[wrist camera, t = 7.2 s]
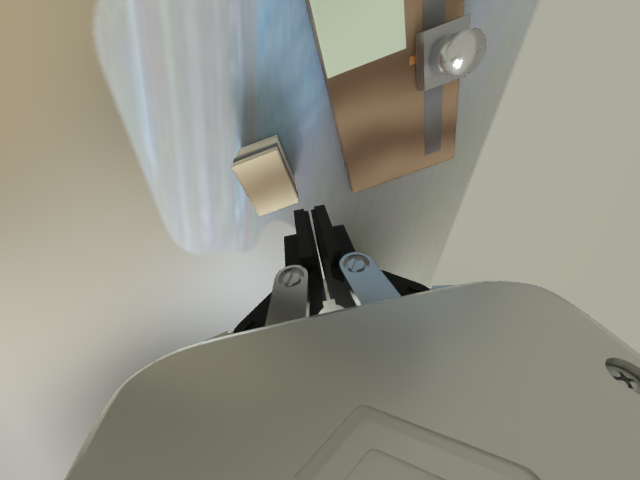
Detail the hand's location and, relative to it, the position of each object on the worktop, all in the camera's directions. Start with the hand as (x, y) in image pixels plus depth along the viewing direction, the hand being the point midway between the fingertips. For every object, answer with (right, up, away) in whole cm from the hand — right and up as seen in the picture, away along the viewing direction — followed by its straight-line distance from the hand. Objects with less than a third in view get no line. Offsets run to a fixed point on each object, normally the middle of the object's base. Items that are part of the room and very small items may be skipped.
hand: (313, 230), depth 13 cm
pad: (+3, +17, +5) cm, 18 cm away
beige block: (-5, +8, +12) cm, 15 cm away
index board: (+7, +15, +9) cm, 19 cm away
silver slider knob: (+10, +15, +7) cm, 20 cm away
